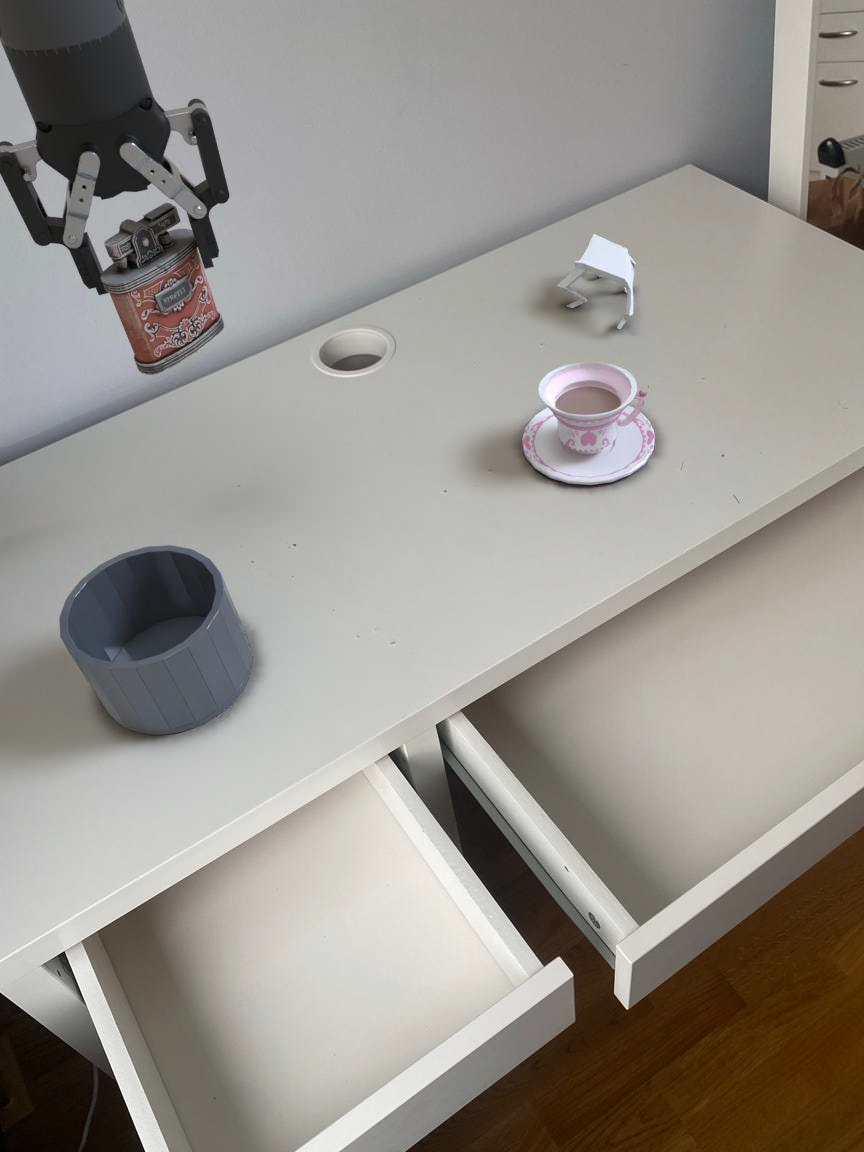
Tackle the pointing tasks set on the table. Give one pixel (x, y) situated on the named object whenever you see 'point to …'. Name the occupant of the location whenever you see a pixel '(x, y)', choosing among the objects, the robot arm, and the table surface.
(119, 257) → the lighter
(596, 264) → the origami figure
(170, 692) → the blue-grey round bin
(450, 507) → the table surface
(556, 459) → the teacup
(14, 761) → the table surface
